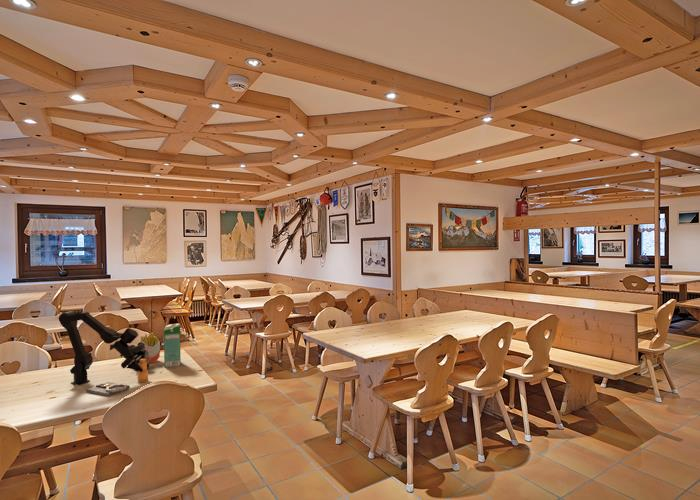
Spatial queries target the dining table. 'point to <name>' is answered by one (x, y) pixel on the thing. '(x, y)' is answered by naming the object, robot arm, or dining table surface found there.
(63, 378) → the dining table surface
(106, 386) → the plate
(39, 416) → the dining table surface
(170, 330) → the milk carton
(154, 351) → the french fries container
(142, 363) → the wire nut
